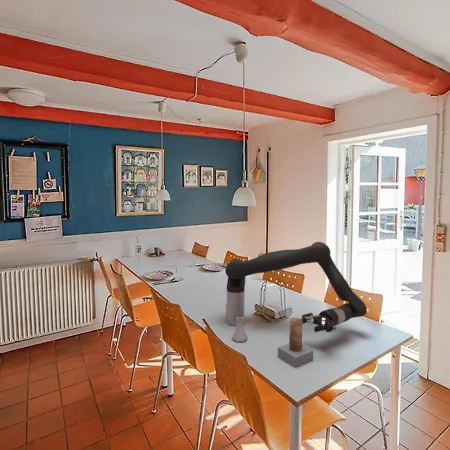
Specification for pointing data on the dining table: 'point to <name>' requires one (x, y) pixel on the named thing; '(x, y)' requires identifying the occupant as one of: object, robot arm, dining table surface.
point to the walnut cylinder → (295, 335)
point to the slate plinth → (295, 355)
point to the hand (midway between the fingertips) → (306, 325)
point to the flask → (239, 331)
